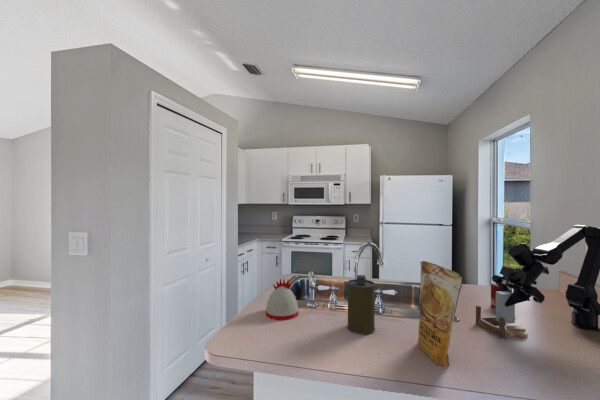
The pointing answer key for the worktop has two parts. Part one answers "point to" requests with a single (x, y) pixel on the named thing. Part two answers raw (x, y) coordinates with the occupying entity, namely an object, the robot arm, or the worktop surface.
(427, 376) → the worktop surface
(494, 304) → the canned food
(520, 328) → the offcut stack
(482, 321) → the rack
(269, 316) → the beanie hat
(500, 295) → the grey rectangular block
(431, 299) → the pancake mix bag
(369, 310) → the canister
